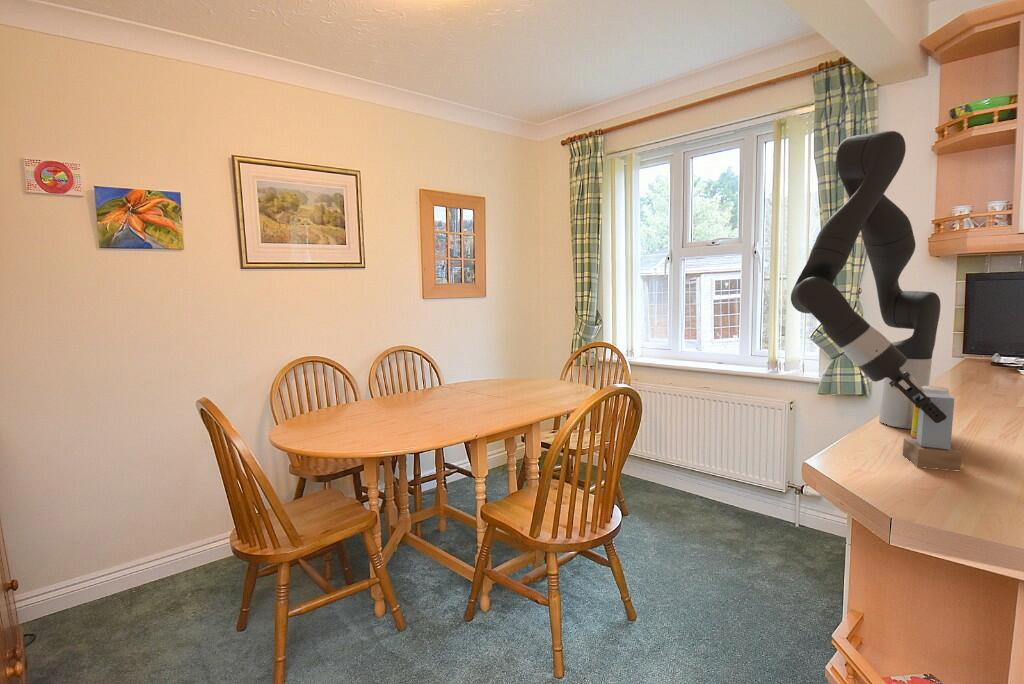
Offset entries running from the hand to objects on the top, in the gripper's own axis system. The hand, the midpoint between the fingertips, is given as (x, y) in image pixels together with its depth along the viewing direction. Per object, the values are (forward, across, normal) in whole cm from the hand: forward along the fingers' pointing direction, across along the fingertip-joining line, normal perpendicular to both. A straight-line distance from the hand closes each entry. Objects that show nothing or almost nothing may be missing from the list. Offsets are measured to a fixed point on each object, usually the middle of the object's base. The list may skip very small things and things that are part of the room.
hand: (937, 415), depth 103 cm
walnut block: (+7, 0, +7) cm, 10 cm away
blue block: (+4, 0, +4) cm, 6 cm away
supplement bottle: (+8, +14, +6) cm, 17 cm away
